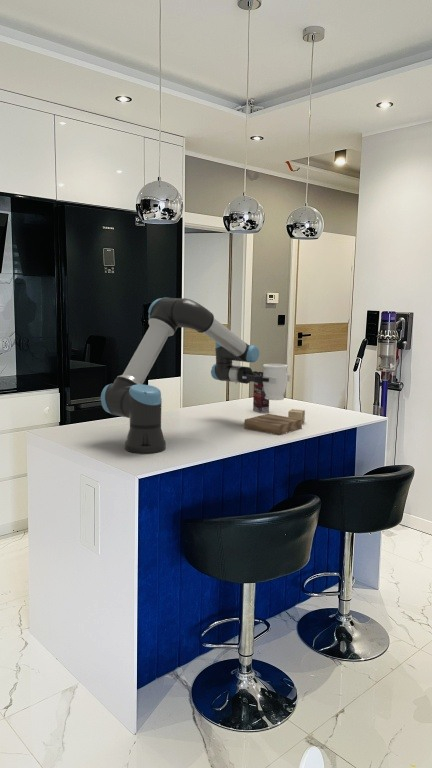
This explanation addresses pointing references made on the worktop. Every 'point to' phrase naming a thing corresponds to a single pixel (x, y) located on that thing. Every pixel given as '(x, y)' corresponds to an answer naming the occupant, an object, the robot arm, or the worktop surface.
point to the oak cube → (297, 414)
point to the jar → (277, 389)
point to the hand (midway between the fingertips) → (283, 379)
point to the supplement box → (260, 399)
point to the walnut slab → (273, 424)
